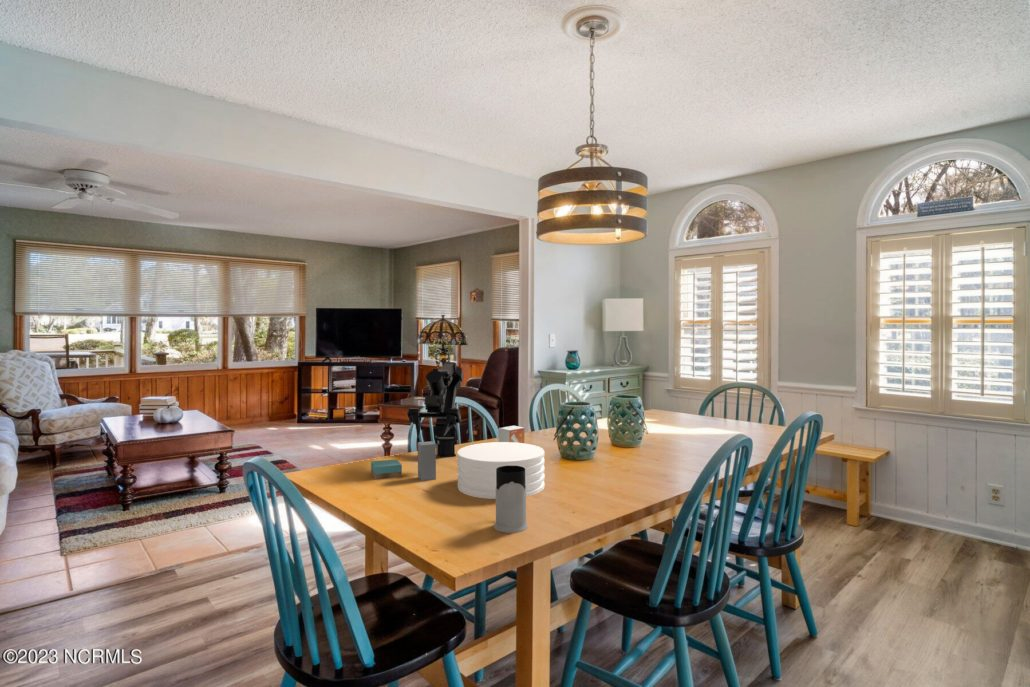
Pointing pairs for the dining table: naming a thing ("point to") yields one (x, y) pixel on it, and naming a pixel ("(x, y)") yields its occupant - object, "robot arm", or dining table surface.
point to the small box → (511, 434)
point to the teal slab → (386, 466)
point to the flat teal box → (386, 475)
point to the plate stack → (487, 457)
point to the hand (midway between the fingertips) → (430, 435)
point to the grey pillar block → (426, 461)
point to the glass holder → (510, 499)
